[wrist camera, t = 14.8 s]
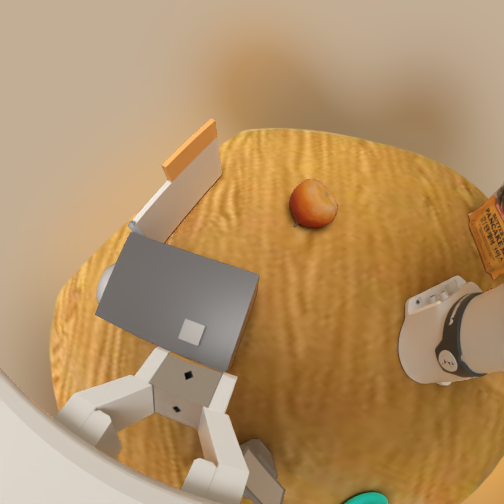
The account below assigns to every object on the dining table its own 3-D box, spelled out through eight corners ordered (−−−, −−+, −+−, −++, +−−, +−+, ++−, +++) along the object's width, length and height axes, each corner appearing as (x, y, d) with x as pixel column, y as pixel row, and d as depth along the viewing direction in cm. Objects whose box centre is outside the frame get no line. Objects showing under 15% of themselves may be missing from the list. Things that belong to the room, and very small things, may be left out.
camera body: (257, 293, 42) (259, 272, 32) (231, 367, 38) (225, 372, 28) (141, 252, 44) (114, 224, 34) (113, 318, 40) (78, 305, 30)
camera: (185, 457, 32) (157, 499, 18) (250, 425, 34) (250, 462, 20) (217, 495, 29) (204, 546, 15) (281, 465, 32) (296, 512, 18)
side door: (217, 171, 49) (210, 118, 36) (222, 174, 49) (216, 120, 36) (149, 252, 43) (116, 213, 31) (154, 256, 43) (122, 217, 30)
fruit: (271, 195, 46) (301, 167, 40) (304, 201, 51) (333, 177, 45) (284, 237, 43) (318, 212, 37) (317, 240, 48) (350, 218, 42)
